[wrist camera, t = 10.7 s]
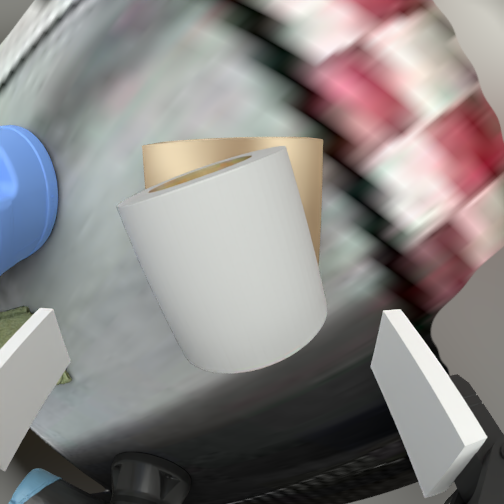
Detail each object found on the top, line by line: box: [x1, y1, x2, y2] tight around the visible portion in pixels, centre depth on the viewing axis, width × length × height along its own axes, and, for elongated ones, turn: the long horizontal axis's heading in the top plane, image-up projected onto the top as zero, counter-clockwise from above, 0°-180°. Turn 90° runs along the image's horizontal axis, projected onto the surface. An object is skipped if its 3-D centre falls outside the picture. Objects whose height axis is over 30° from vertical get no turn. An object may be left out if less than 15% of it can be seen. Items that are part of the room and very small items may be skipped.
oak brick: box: [142, 137, 323, 264], centre depth 27 cm, size 13×13×7 cm
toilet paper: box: [117, 146, 328, 374], centre depth 20 cm, size 10×10×10 cm
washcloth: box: [0, 306, 72, 385], centre depth 37 cm, size 13×18×3 cm
